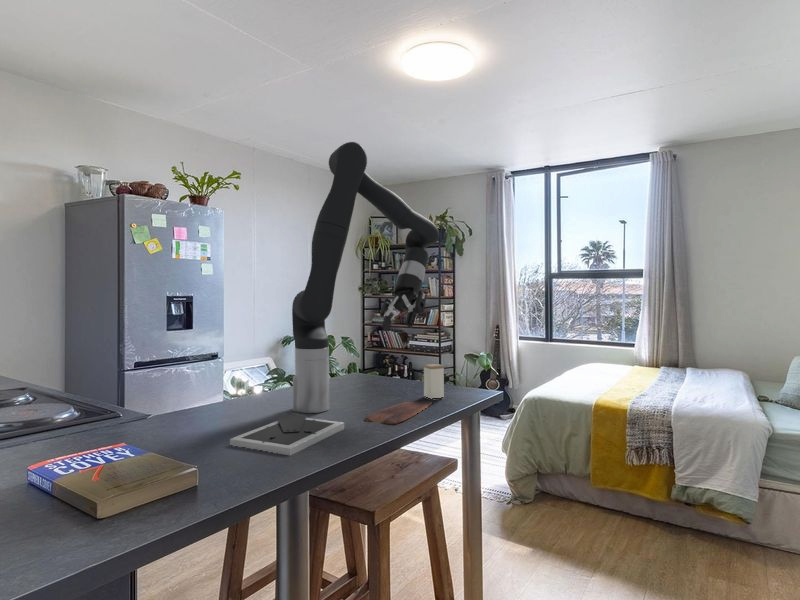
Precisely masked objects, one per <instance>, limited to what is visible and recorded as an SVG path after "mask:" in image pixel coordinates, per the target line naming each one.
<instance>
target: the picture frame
mask: <svg viewBox="0 0 800 600" xmlns="http://www.w3.org/2000/svg"><path fill="white" fill-rule="evenodd" d="M344 429H345V422H343V421H333V420H327V419H319V418H311V417H310V418H309V417H308V415H305V414H298V413H293V412H289V413H287V414H284V415H282V416H278V417H277V420H276V421H273V422H271V423H269V424H266V425H263V426H260V427H258V428H255V429H253V430H250V431H247V432H245V433H242V434H239V435H237V436H234V437H232V438H231V437H230V438H229V446H230V445H235V446H240V447H239V448H241V447H246V448H245V449H247V448H251V449H250V450H253V449H258V450H257V451H259V450H263V451H262V452H265V451H268V452H267V453H271V452H273V453H272V454H277V453H278V455H285V456H292V455H294V454H297V453H298V452H302V451H303V450H304V449H307V448H309V447H311V446H313V445H315V444H317V443H319V442H321V441H323V440H324V439H327V438H329V437H331V436H333V435H335V434H337V433H339V432H341V431H343V430H344ZM235 446H234V447H235Z"/></svg>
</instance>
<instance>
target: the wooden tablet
mask: <svg viewBox="0 0 800 600" xmlns="http://www.w3.org/2000/svg"><path fill="white" fill-rule="evenodd" d="M432 402H433V401H422V402H407V401H403V402H401V403H398V404H395V405H391V406H389V407H386V408H384V409H380V410H378V411H376V412H374V413H371V414H369V415H367V416H366V417H365V418H364V421H365V422H369V423H380V424H384V425H388V426H389V425H390V426H395V425H398V424H401V423H403V422H404V421H407V420H408V419H410V418H412V417H413V416H416V415H418V414H419V413H421V412H422V410H423V411H425V410H426V409H427V408H429V407H430V406H431V404H432ZM429 405H430V406H429ZM432 405H433V404H432ZM428 406H429V407H428ZM425 408H426V409H425ZM417 413H418V414H417Z"/></svg>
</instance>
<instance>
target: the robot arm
mask: <svg viewBox="0 0 800 600" xmlns="http://www.w3.org/2000/svg"><path fill="white" fill-rule="evenodd" d="M367 164H368V157H367V152H366V150H365V148H364V147H363V146H362V145H361V144H360V143H358V142H355V141H349V142H345V143H342V144H341V145H340V146H338V148H336V149H335V150H334V151H333V152H332V153H331V154H330V157H329V159H328V168H329V171H330V172H331V173H332V175H333V180H332V183H331V186H330V187H331V188H330V190H329V192H328V194H327V196H326V199H325V200H324V203H323V204H322V207H321V209H320V211H319V213H318V216H317V219H316V222H315V226H314V231H313V235H312V239H311V266H310V272H309V276H308V280H307V282H306V285H305V288H304V289H303V290H301V291H299V292H298V293H297V294H296V295H295V297H294V298H293V301H292V307H291V308H292V309H291V311H292V312H291V315H292V319H291V320H292V336H293V339H294V340H293V341H294V372H295V373H294V375H293V376H292V411H293V412H298V413H302V414H313V413H314V414H315V413H323V412H326V411H328V410H329V409H330V350H329V349H330V348H329V347H330V341H329V340H330V339H329V336H328V334H327V332H326V331H327V330H326V320H327V318H328V317H329V316H330V314H331V312H332V307H333V301H334V293H335V287H336V280H337V275H338V271H339V268H340V265H341V262H342V257H343V253H344V251H345V246H346V245H347V244H346V243H347V239H348V235H349V231H350V226H351V225H350V224H351V222H352V218H353V213H354V207H355V204H356V203H355V202H356V198H357V194H359V195H360V196H361V197H362V198H364V199H366V200H367V201H368V202H369V203H370V204H371V205H372V206H374V208H376V209H377V210H378V211H379V212H380V213H381V214H382V215H384V217H385V218H387V220H388V221H389V222H390V223H391V224H393V225H394V227H396V228H397V229H398V230H408V229H410V230H409V232H408V233H407V236H406V238H405V245H404V247H405V249H404V250H405V255H404V259H403V262H402V264H401V267H400V269H399V271H398V275H397V278H396V282H395V284H394V289H393V290H394V296H393V298H392V299H389V298H388V297H385V299H384V302H383V304H382V307H381V310H380V313H379V316H380V317H381V318H382V319H383V322H382V325H381V328H382V330H383V331H384V332H389V331H390V328H391V325H392V322H393V319H394V318H395V317H396V316H398V315H399V314H400V313H402V312H405V311H406V312H407V311H409V312H407V316H406V320H405V324H404V325H405V326H407V328H413V326H414V324H415V321H416V317H418V315H419V314H423V313H424V310H425V305H426V300H427V295H426V294H425V293H424V291H422V287H423V285H424V280H425V277H426V276H425V275H426V270H427V266H428V263H429V253H428V251H427V250H426V249H427V248H428V247H430V246H433V245H434V244H436V243H438V241H439V239H440V231H439V228H438V227H437V225H435V223H434V222H433V221H432V220H430V219H429V218H426V217H425V216H423V215H422V214H421V213H419V212H416V211H414V210H413V209H412V208H411V207H410V206H409V204H408V203H406V202H405V201H404V200H403V198H401V197H400V196H399V195H397V193H395V192H394V191H392V190H390V189H388V188H387V187H385V186H383V185H381V184H380V183H379V182H377V181H376V180H374V179H373V178H372V177H371V176H370V175H369V174H368V173H367V172H366V169H367ZM394 309H395V310H394Z"/></svg>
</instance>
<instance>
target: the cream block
mask: <svg viewBox="0 0 800 600" xmlns="http://www.w3.org/2000/svg"><path fill="white" fill-rule="evenodd" d="M444 370H445V365H443V364H439V363H428V364H426V363H425V364H423V397H424V396H426V397H428V398H431V399H432V398H441V397H444V398H445V385H444V384H445V381H444V380H445V371H444ZM426 397H425V398H426ZM428 398H427V399H428Z"/></svg>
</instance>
